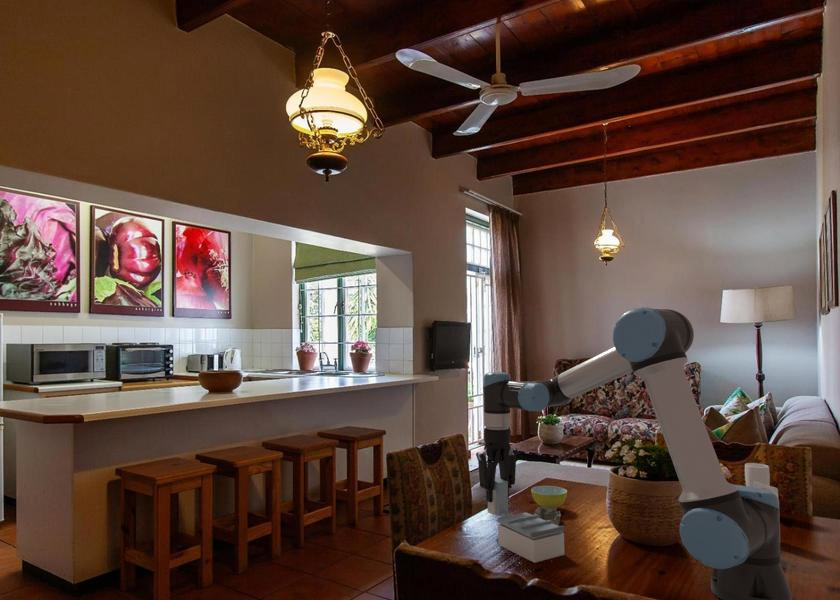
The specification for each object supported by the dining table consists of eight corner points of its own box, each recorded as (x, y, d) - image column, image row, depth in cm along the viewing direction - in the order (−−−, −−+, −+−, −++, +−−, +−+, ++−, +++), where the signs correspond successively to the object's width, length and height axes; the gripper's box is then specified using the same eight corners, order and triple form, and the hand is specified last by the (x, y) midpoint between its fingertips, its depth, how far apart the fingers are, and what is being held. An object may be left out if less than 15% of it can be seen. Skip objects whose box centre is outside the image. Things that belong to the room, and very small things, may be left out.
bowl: (525, 505, 188) (524, 486, 189) (555, 502, 192) (555, 484, 192) (542, 516, 177) (542, 496, 178) (574, 513, 181) (574, 493, 181)
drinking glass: (741, 511, 182) (739, 464, 183) (755, 509, 185) (753, 462, 186) (761, 518, 176) (760, 468, 177) (776, 515, 178) (774, 466, 179)
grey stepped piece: (565, 532, 145) (565, 496, 145) (533, 539, 139) (533, 502, 140) (507, 507, 165) (507, 475, 165) (476, 513, 159) (476, 480, 160)
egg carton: (557, 531, 164) (557, 517, 165) (531, 528, 167) (531, 514, 167) (562, 520, 174) (562, 506, 175) (537, 517, 177) (537, 504, 177)
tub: (564, 557, 144) (564, 533, 145) (534, 565, 139) (534, 540, 140) (527, 540, 156) (527, 518, 157) (498, 547, 151) (498, 524, 152)
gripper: (511, 423, 169) (511, 504, 167) (465, 428, 160) (466, 513, 159) (528, 427, 162) (529, 511, 161) (481, 431, 154) (482, 520, 152)
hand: (497, 512), depth 160 cm, fingers closed on grey stepped piece, 3 cm apart
